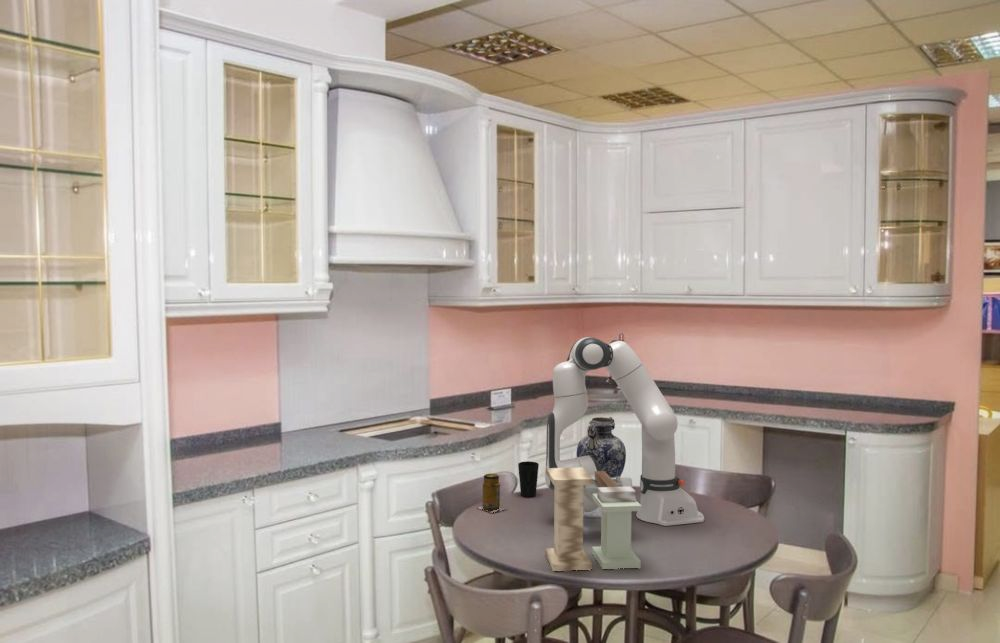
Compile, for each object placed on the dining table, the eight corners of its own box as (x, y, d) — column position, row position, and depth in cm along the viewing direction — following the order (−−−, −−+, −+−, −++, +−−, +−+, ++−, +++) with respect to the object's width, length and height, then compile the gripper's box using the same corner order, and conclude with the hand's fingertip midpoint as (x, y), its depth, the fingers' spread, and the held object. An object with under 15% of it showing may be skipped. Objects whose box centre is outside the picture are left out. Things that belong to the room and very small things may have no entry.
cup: (527, 491, 298) (528, 460, 297) (542, 495, 293) (543, 463, 292) (513, 495, 293) (513, 463, 292) (528, 499, 287) (528, 467, 286)
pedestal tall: (581, 553, 233) (582, 467, 231) (591, 570, 220) (592, 479, 218) (545, 555, 232) (546, 468, 230) (553, 571, 219) (553, 480, 217)
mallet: (614, 479, 247) (615, 470, 247) (635, 501, 224) (635, 491, 224) (583, 480, 246) (583, 471, 246) (601, 502, 223) (601, 492, 223)
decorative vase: (589, 481, 312) (590, 411, 310) (633, 488, 303) (635, 417, 300) (565, 495, 294) (567, 421, 291) (612, 503, 284) (614, 427, 282)
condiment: (492, 504, 282) (493, 471, 281) (508, 510, 275) (508, 476, 274) (476, 508, 277) (476, 474, 276) (491, 514, 271) (491, 479, 270)
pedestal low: (628, 551, 235) (628, 492, 233) (640, 568, 222) (641, 505, 220) (591, 553, 233) (592, 493, 232) (602, 569, 220) (603, 506, 219)
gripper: (562, 481, 253) (570, 470, 241) (624, 480, 255) (635, 468, 243) (564, 501, 250) (572, 490, 238) (626, 499, 253) (637, 488, 240)
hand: (604, 479), depth 240 cm, fingers open, 8 cm apart
